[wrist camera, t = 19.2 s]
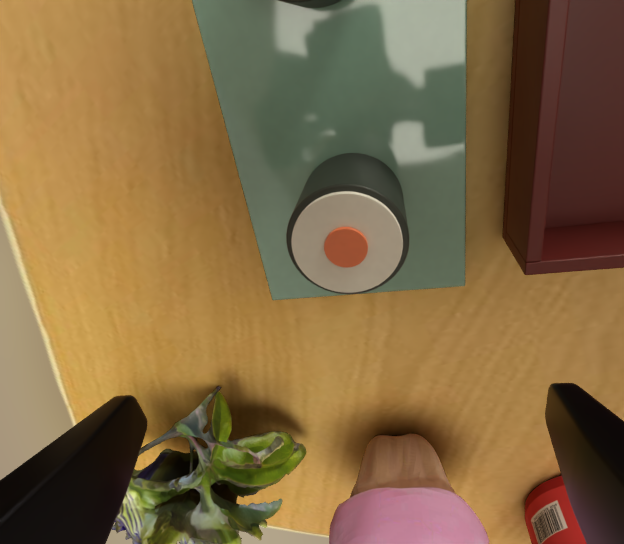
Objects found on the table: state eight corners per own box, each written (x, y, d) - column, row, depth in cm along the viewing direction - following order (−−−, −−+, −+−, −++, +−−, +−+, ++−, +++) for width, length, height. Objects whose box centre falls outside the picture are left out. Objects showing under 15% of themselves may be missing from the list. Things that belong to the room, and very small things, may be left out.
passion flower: (226, 397, 37) (92, 500, 30) (219, 317, 29) (39, 428, 22) (318, 495, 32) (181, 646, 25) (337, 427, 24) (151, 615, 17)
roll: (406, 242, 20) (414, 296, 16) (312, 251, 20) (296, 304, 17) (399, 145, 17) (405, 179, 13) (293, 160, 18) (271, 197, 14)
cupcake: (353, 488, 32) (345, 655, 24) (325, 411, 28) (303, 579, 20) (473, 483, 30) (512, 666, 21) (461, 399, 26) (503, 583, 17)
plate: (461, 274, 21) (465, 286, 20) (276, 288, 23) (272, 300, 22) (461, -328, 12) (469, -363, 11) (146, -214, 14) (128, -233, 13)
